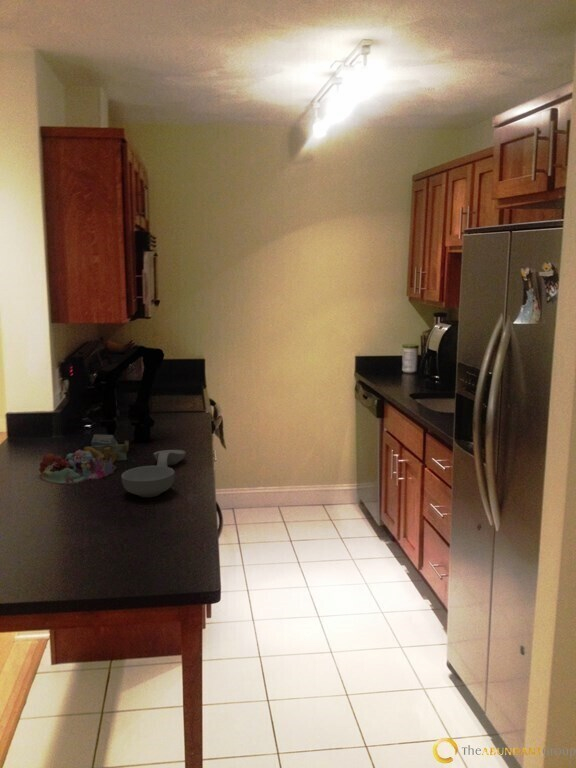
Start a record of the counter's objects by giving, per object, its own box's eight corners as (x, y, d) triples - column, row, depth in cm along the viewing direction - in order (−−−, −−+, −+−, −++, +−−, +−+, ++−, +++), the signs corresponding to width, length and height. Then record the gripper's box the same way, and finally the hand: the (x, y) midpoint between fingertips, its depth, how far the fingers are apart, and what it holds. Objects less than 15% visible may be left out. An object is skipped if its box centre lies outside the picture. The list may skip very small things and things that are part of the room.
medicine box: (120, 446, 270) (113, 434, 263) (117, 456, 267) (110, 444, 260) (101, 446, 271) (93, 433, 264) (97, 455, 268) (90, 443, 262)
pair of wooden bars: (128, 446, 280) (128, 432, 279) (126, 460, 262) (125, 444, 261) (95, 448, 278) (94, 433, 277) (91, 462, 260) (90, 446, 259)
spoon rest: (156, 458, 265) (155, 440, 264) (187, 457, 265) (186, 439, 264) (146, 478, 242) (145, 458, 241) (179, 478, 242) (179, 458, 241)
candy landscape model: (78, 460, 264) (77, 436, 262) (128, 468, 254) (127, 443, 252) (29, 480, 242) (27, 454, 240) (81, 489, 232) (79, 462, 230)
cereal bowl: (174, 483, 236) (174, 463, 235) (175, 500, 220) (174, 479, 219) (123, 486, 233) (122, 466, 232) (120, 504, 217) (119, 482, 216)
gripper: (89, 396, 280) (92, 434, 283) (85, 406, 262) (87, 446, 265) (118, 395, 281) (120, 432, 284) (115, 405, 263) (117, 445, 266)
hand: (111, 438), depth 275 cm, fingers closed
